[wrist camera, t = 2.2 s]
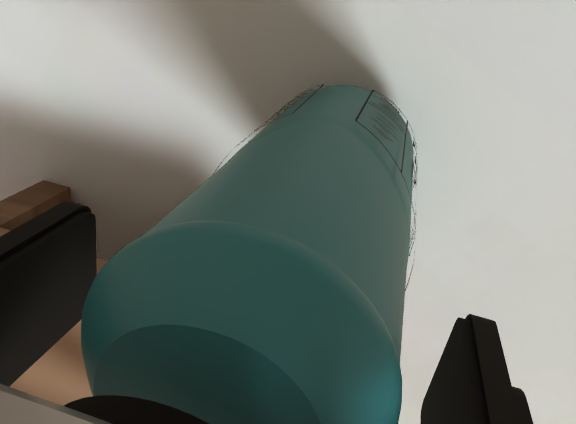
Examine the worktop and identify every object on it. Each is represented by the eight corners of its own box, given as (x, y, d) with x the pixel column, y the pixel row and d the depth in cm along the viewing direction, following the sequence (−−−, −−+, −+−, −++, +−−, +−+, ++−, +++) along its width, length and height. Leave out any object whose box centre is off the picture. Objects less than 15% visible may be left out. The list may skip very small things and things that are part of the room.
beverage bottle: (268, 88, 22) (-340, 448, 5) (412, 60, 20) (305, 540, 2) (297, 212, 24) (-33, 765, 7) (429, 200, 22) (433, 956, 5)
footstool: (33, 168, 28) (-88, 222, 21) (288, 240, 25) (240, 327, 19) (56, 400, 37) (-23, 487, 30) (246, 470, 34) (203, 582, 28)
